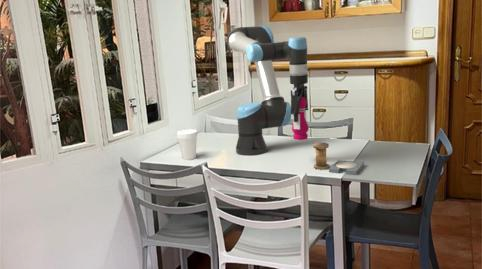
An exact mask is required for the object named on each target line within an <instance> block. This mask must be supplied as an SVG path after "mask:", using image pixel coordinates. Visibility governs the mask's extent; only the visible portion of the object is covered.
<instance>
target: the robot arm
mask: <svg viewBox="0 0 482 269" xmlns="http://www.w3.org/2000/svg"><path fill="white" fill-rule="evenodd" d="M274 41H275V40H274V33H273V31H272V30H271V28H270V27H268V26H266V25H257V26H244V27H243V26H241V27H237V28H233V29H232V30H231V31H229V33H228V34H227V37H226V44H227V47H228V48H229V49H230V50H232V51H234V52H239V53H240V52H241V53H243V54H244V55H246V58H247V59H248V62H250V63H254V66H255V70H256V74H257V79H258V83H259V87H260V92H261V96H262V100H261V101H260V102H249V103H245V104H242V105H239V107H238V108H237V112H236V118H237V129H238V138H237V142H236V146H235V152H236V154H237V155H242V156H255V155H260V154H264V153H266V152H267V150H268V148H267V147H268V146H267V144H266V141H265V138H264V136H263V130H264V129H271V128H281V127H285V126H288V125H289V123H290V122H291V118H292V117H293V119H292V120H293V123H294V129H300V114H299V107H300V99H301V98H302V97H304V98H305V99H306V102H307V104H306V106H305V108H306V109H305V110H306V111H305V113H304V115H305V120H306V121H307V111H309V103H308V102H309V101H308V100H309V99H308V86H307V85H306V84H308V82H309V80H308V79H309V78H308V74H307V73H308V69H309V66H308V42H307V38H306V37H305V36H297V37H296V36H295V37H290V38H289V39H288V40H287V41H286V40H285V41H280V42H274ZM280 60H289V63H288V64H289V65H288V66H289V67H288V68H289V74H290V75H289V84H291V85H293V89H292V90H291V89H290V102H288V101H285V98H284V97H283V96H281V94H280V90H279V86H278V82H277V78H276V73H275V69H274V66H273V62H272V61H280ZM292 115H293V116H292ZM293 123H292V124H293Z"/></svg>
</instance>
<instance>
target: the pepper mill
mask: <svg viewBox="0 0 482 269" xmlns="http://www.w3.org/2000/svg"><path fill="white" fill-rule="evenodd" d="M306 104H307V102H306V99H305V98H304V97H302V98H301V99H300V107H299V114H300V129H294V123H292V126H291V131H292V132H293V133H294V134H293V137H292V138H293V140H296V141H304V140H305V141H306V140H307V139H308V137H309V135H308V132H309V128H310V127H309V125H308V122H307V119H306V120H305V115H304V113H305V111H306V112H307V110H305V109H306V108H305V106H306Z"/></svg>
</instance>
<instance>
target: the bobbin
mask: <svg viewBox="0 0 482 269" xmlns="http://www.w3.org/2000/svg"><path fill="white" fill-rule="evenodd" d="M312 147H313V148H314V149H315V163H314V164H313V169H314V168H315V170H317V169H320V170H319V171H323V169H325V170H329V168H330V164H328V162H327V149H328V148H329V143H327V142H315V143H313V144H312ZM321 169H322V170H321Z"/></svg>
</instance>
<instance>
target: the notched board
mask: <svg viewBox="0 0 482 269" xmlns="http://www.w3.org/2000/svg"><path fill="white" fill-rule="evenodd" d="M364 166H365V162H364V161H352V160H351V161H350V160H340V159H339V160H336V162H335V163H334V164H332V165H331V166H329V168H328V173H329V172H331V173H332V174H339V173H340V172H345V174H346V175H353V176H356V175H357V174H358V173H359V172H361V170H362V169H363V167H364ZM331 173H330V174H331Z"/></svg>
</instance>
